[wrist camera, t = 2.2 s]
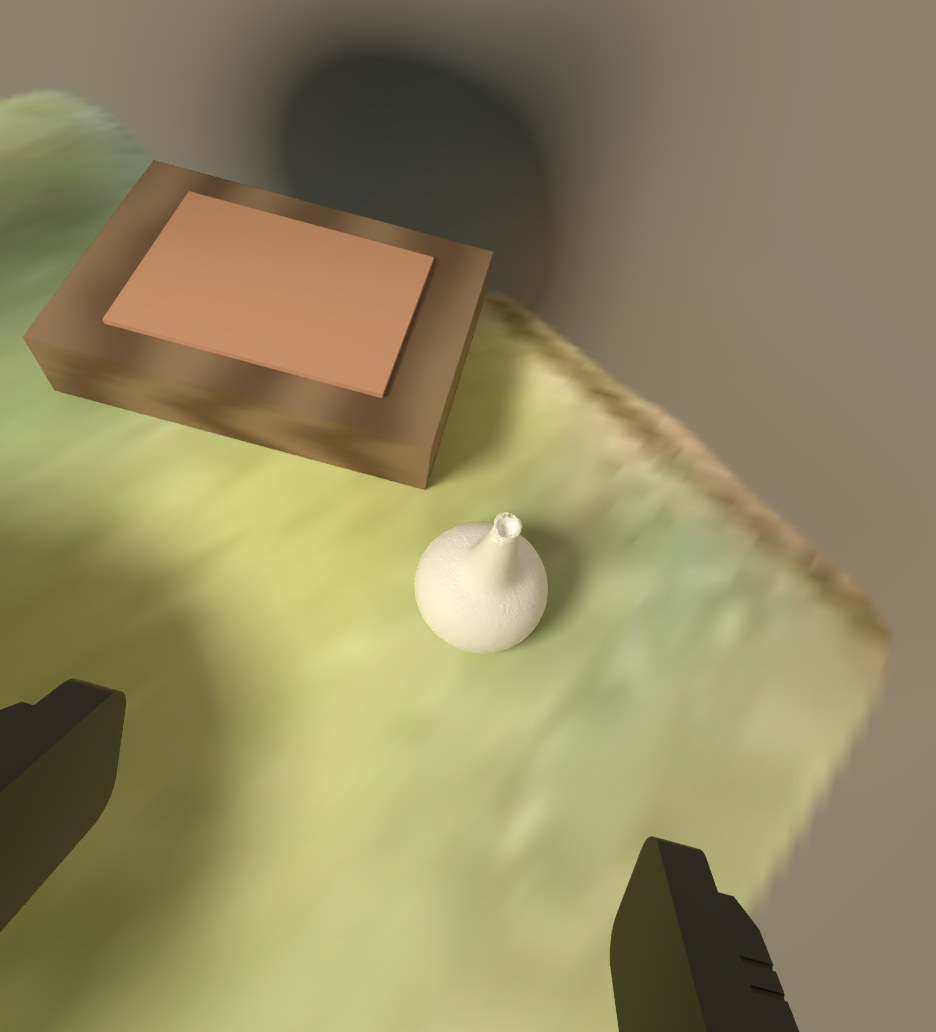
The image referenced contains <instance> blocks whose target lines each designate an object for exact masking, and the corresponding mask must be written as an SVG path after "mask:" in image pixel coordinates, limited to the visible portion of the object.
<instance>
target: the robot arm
mask: <svg viewBox="0 0 936 1032" xmlns="http://www.w3.org/2000/svg"><path fill="white" fill-rule="evenodd" d="M125 707H126V698H125V695H124V693H123V692H121V691H118V690H114V689H110V688H106V687H103V686H99V685H95V684H92V683H88V682H84V681H81V680H77V679H69V680H67V681H66V682H64V683H63V684H61V685H60V686H59V687H57V688H56V689H55V690H53V691H52V692H51V693H49V694H48V695H47V696H46V697H44V698H43V699H42V700H40V701H39V702H38V703H36V704H35V705H30V704H27V703H23V702H20V703H18V704H15V705H12V706H10V707H7V708H4V709H2V710H0V932H1V931H2V929H3V928H4V927H5V926H6V925H7V924H8V923H9V921H10V920H11V919H12V918H13V917H14V916H15V915H16V913H17V912H18V911H19V910H20V909H21V908H22V907H23V905H24V904H25V903H26V902H27V901H28V900H29V899H30V897H31V896H32V895H33V894H34V893H35V892H36V890H37V889H38V888H39V887H40V886H41V885H42V884H43V882H44V881H45V880H46V879H47V878H48V877H49V876H50V874H51V873H52V872H53V871H54V870H55V869H56V868H57V866H58V865H59V864H60V863H61V862H62V861H63V860H64V858H65V857H66V856H67V855H68V854H69V853H70V851H71V850H72V849H73V848H74V847H75V846H76V845H77V843H78V842H79V841H80V840H81V839H82V838H83V837H84V835H85V834H86V833H87V832H88V831H89V830H90V829H91V827H92V826H93V825H94V824H95V823H96V821H97V820H98V818H99V817H100V815H101V814H102V812H103V810H104V809H105V807H106V805H107V803H108V800H109V798H110V796H111V793H112V790H113V787H114V783H115V779H116V772H117V765H118V758H119V751H120V744H121V736H122V729H123V722H124V715H125ZM772 966H773V963H772V961H771V959H770V956H769V953H768V951H767V948H766V945H765V943H764V940H763V938H762V935H761V933H760V930H759V929H758V928H757V926H756V925H755V924H754V922H753V921H752V920H751V918H750V917H749V916H748V914H747V913H746V912H745V911H744V909H743V908H742V907H741V905H740V904H739V903H738V901H737V900H736V899H735V898H734V896H730V895H726V894H723V893H719V892H718V891H717V888H716V885H715V882H714V879H713V876H712V873H711V870H710V868H709V865H708V862H707V859H706V856H705V854H704V853H703V851H702V850H700V849H697V848H693V847H690V846H686V845H682V844H678V843H675V842H671V841H667V840H664V839H660V838H656V837H652V836H651V837H649V838H647V840H646V841H645V843H644V844H643V847H642V849H641V851H640V854H639V857H638V859H637V862H636V865H635V867H634V870H633V873H632V875H631V878H630V880H629V883H628V886H627V888H626V891H625V894H624V896H623V899H622V901H621V904H620V907H619V909H618V912H617V915H616V918H615V921H614V925H613V929H612V935H611V943H610V967H611V975H612V983H613V990H614V997H615V1005H616V1012H617V1020H618V1027H619V1032H799V1030H798V1027H797V1025H796V1022H795V1020H794V1017H793V1015H792V1012H791V1009H790V1007H789V1004H788V1002H786V1001H784V991H783V989H782V987H781V984H780V981H779V979H778V976H777V974H776V972H775V971H773V970H772Z"/></svg>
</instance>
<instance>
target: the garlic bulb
mask: <svg viewBox="0 0 936 1032" xmlns="http://www.w3.org/2000/svg"><path fill="white" fill-rule="evenodd" d="M505 514H507V515H506V516H504V515H505ZM511 515H512V513H511ZM522 527H523V526H522V523H521V520H519V519H518V517H515V515H513V516H509V512H504V513H500V514H498V516H496V518H495V520H494V523H491V522H470V523H465V524H461V525H458V526H455V527H453V528H451V529H449V530H447V531H445V532H444V533H442V534H441V535H439V536H438V537H437V538H436V539H434V540H433V541H432V543H431V544H430V545H429V546H428V547H427V549H426V550H425V552H424V553H423V555H422V557H421V559H420V561H419V564H418V567H417V571H416V576H415V596H416V600H417V604H418V607H419V609H420V612H421V614H422V616H423V618H424V620H425V621H426V623H427V624H428V625H429V627H430V628H431V629H432V630H433V631H434V633H435V634H436V635H437V636H439V637H440V638H441V639H443V640H444V641H446V642H447V643H449V644H450V645H452V646H454V647H456V648H459V649H461V650H464V651H469V652H474V653H479V654H480V653H481V654H487V653H495V652H500V651H504V650H507V649H510V648H511V647H513V646H515V645H517V644H519V643H520V642H522V641H523V640H524V639H525V638H526V637H527V636H528V635H529V634H530V633H531V632H532V631H533V630H534V629H535V627H536V626H537V624H538V623H539V621H540V619H541V617H542V615H543V613H544V610H545V607H546V603H547V596H548V583H547V582H548V581H547V575H546V572H545V568H544V565H543V563H542V561H541V559H540V557H539V555H538V553H537V552H536V550H535V549H534V547H533V546H532V545H531V544H530V543H529V542H528V541H527V540H526V539H525V538H524V537H523V536H521V535H520V533H521V529H522Z"/></svg>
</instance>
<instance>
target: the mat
mask: <svg viewBox="0 0 936 1032" xmlns="http://www.w3.org/2000/svg"><path fill="white" fill-rule="evenodd" d="M433 261H434V257H431V256H428V255H424V254H420V253H417V252H413V251H409V250H405V249H402V248H398V247H394V246H391V245H387V244H383V243H380V242H376V241H372V240H368V239H365V238H361V237H357V236H354V235H350V234H346V233H342V232H339V231H335V230H331V229H328V228H324V227H320V226H316V225H313V224H309V223H305V222H302V221H298V220H294V219H290V218H287V217H283V216H279V215H276V214H272V213H268V212H264V211H261V210H257V209H253V208H250V207H246V206H242V205H238V204H235V203H231V202H227V201H224V200H220V199H216V198H212V197H209V196H205V195H201V194H198V193H194V192H190V191H189V192H188V193H187V195H186V196H185V198H184V199H183V200H182V202H181V203H180V205H179V206H178V208H177V209H176V211H175V212H174V214H173V215H172V217H171V218H170V220H169V221H168V223H167V224H166V226H165V227H164V229H163V230H162V232H161V233H160V235H159V236H158V238H157V239H156V240H155V242H154V243H153V245H152V246H151V248H150V249H149V251H148V252H147V254H146V255H145V257H144V258H143V260H142V261H141V263H140V264H139V266H138V267H137V269H136V270H135V272H134V273H133V275H132V276H131V278H130V279H129V280H128V282H127V283H126V285H125V286H124V288H123V289H122V291H121V292H120V294H119V295H118V297H117V298H116V300H115V301H114V303H113V304H112V306H111V307H110V309H109V310H108V312H107V313H106V315H105V316H104V318H103V322H104V324H108V325H112V326H115V327H119V328H123V329H126V330H130V331H134V332H138V333H141V334H145V335H149V336H152V337H156V338H160V339H164V340H167V341H171V342H175V343H178V344H182V345H186V346H190V347H193V348H197V349H201V350H204V351H208V352H212V353H216V354H219V355H223V356H227V357H230V358H234V359H238V360H242V361H245V362H249V363H253V364H256V365H260V366H264V367H268V368H271V369H275V370H279V371H283V372H286V373H290V374H294V375H297V376H301V377H305V378H309V379H312V380H316V381H320V382H323V383H327V384H331V385H335V386H338V387H342V388H346V389H349V390H353V391H357V392H361V393H364V394H368V395H372V396H375V397H379V398H383V395H384V392H385V390H386V387H387V384H388V382H389V379H390V376H391V374H392V371H393V368H394V366H395V363H396V360H397V358H398V355H399V352H400V350H401V347H402V344H403V342H404V339H405V336H406V334H407V331H408V328H409V326H410V323H411V320H412V318H413V315H414V312H415V310H416V307H417V304H418V301H419V299H420V296H421V293H422V291H423V288H424V285H425V283H426V280H427V277H428V275H429V272H430V269H431V267H432V264H433Z"/></svg>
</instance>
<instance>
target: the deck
mask: <svg viewBox="0 0 936 1032" xmlns="http://www.w3.org/2000/svg"><path fill="white" fill-rule="evenodd" d="M189 191H190V192H194V193H198V194H201V195H205V196H209V197H212V198H216V199H220V200H224V201H227V202H231V203H235V204H238V205H242V206H246V207H250V208H253V209H257V210H261V211H264V212H268V213H272V214H276V215H279V216H283V217H287V218H290V219H294V220H298V221H302V222H305V223H309V224H313V225H316V226H320V227H324V228H328V229H331V230H335V231H339V232H342V233H346V234H350V235H354V236H357V237H361V238H365V239H368V240H372V241H376V242H380V243H383V244H387V245H391V246H394V247H398V248H402V249H405V250H409V251H413V252H417V253H420V254H424V255H428V256H431V257H434V261H433V264H432V267H431V269H430V272H429V275H428V277H427V280H426V283H425V285H424V288H423V291H422V293H421V296H420V299H419V301H418V304H417V307H416V310H415V312H414V315H413V318H412V320H411V323H410V326H409V328H408V331H407V334H406V336H405V339H404V342H403V344H402V347H401V350H400V352H399V355H398V358H397V360H396V363H395V366H394V368H393V371H392V374H391V376H390V379H389V382H388V384H387V387H386V390H385V392H384V395H383V398H379V397H375V396H372V395H368V394H364V393H361V392H357V391H353V390H349V389H346V388H342V387H338V386H335V385H331V384H327V383H323V382H320V381H316V380H312V379H309V378H305V377H301V376H297V375H294V374H290V373H286V372H283V371H279V370H275V369H271V368H268V367H264V366H260V365H256V364H253V363H249V362H245V361H242V360H238V359H234V358H230V357H227V356H223V355H219V354H216V353H212V352H208V351H204V350H201V349H197V348H193V347H190V346H186V345H182V344H178V343H175V342H171V341H167V340H164V339H160V338H156V337H152V336H149V335H145V334H141V333H138V332H134V331H130V330H126V329H123V328H119V327H115V326H112V325H108V324H104V322H103V318H104V316H105V315H106V313H107V312H108V310H109V309H110V307H111V306H112V304H113V303H114V301H115V300H116V298H117V297H118V295H119V294H120V292H121V291H122V289H123V288H124V286H125V285H126V283H127V282H128V280H129V279H130V278H131V276H132V275H133V273H134V272H135V270H136V269H137V267H138V266H139V264H140V263H141V261H142V260H143V258H144V257H145V255H146V254H147V252H148V251H149V249H150V248H151V246H152V245H153V243H154V242H155V240H156V239H157V238H158V236H159V235H160V233H161V232H162V230H163V229H164V227H165V226H166V224H167V223H168V221H169V220H170V218H171V217H172V215H173V214H174V212H175V211H176V209H177V208H178V206H179V205H180V203H181V202H182V200H183V199H184V198H185V196H186V195H187V193H188V192H189ZM492 255H493V252H492V251H488V250H485V249H481V248H477V247H474V246H470V245H466V244H462V243H459V242H455V241H451V240H447V239H444V238H440V237H437V236H432V235H429V234H425V233H422V232H417V231H414V230H410V229H407V228H403V227H400V226H396V225H392V224H388V223H385V222H381V221H377V220H374V219H370V218H366V217H362V216H358V215H355V214H351V213H348V212H343V211H340V210H336V209H333V208H329V207H325V206H322V205H318V204H314V203H310V202H307V201H303V200H299V199H296V198H292V197H288V196H284V195H281V194H277V193H273V192H270V191H266V190H262V189H258V188H255V187H251V186H247V185H243V184H240V183H236V182H232V181H229V180H225V179H221V178H218V177H214V176H210V175H206V174H202V173H199V172H195V171H191V170H187V169H184V168H180V167H177V166H173V165H169V164H166V163H162V162H158V161H154V160H153V162H152V163H151V164H150V166H149V167H148V169H147V170H146V171H145V173H144V174H143V175H142V177H141V178H140V179H139V181H138V182H137V183H136V185H135V186H134V187H133V189H132V190H131V192H130V193H129V194H128V196H127V197H126V198H125V200H124V201H123V202H122V204H121V205H120V206H119V208H118V209H117V210H116V212H115V213H114V215H113V216H112V217H111V219H110V220H109V221H108V223H107V224H106V225H105V227H104V228H103V229H102V231H101V232H100V233H99V235H98V236H97V238H96V239H95V240H94V242H93V243H92V244H91V246H90V247H89V248H88V250H87V251H86V252H85V254H84V255H83V256H82V258H81V259H80V261H79V262H78V263H77V265H76V266H75V267H74V269H73V270H72V271H71V273H70V274H69V275H68V277H67V278H66V279H65V281H64V282H63V284H62V285H61V286H60V288H59V289H58V290H57V292H56V293H55V294H54V296H53V297H52V298H51V300H50V301H49V302H48V304H47V305H46V307H45V308H44V309H43V311H42V312H41V313H40V315H39V316H38V317H37V319H36V320H35V321H34V323H33V324H32V325H31V327H30V328H29V330H28V331H27V332H26V334H25V335H24V336H23V338H24V340H25V341H26V343H27V345H28V346H29V348H30V350H31V351H32V353H33V355H34V356H35V358H36V360H37V362H38V363H39V365H40V367H41V368H42V370H43V372H44V373H45V375H46V377H47V378H48V380H49V382H50V383H51V385H52V387H53V388H54V390H56V391H60V392H63V393H67V394H71V395H74V396H78V397H82V398H86V399H89V400H93V401H97V402H100V403H104V404H108V405H112V406H115V407H119V408H123V409H127V410H130V411H134V412H138V413H141V414H145V415H149V416H153V417H156V418H160V419H164V420H167V421H171V422H175V423H179V424H182V425H186V426H190V427H193V428H197V429H201V430H205V431H208V432H212V433H216V434H220V435H223V436H227V437H231V438H234V439H238V440H242V441H246V442H249V443H253V444H257V445H260V446H264V447H268V448H272V449H275V450H279V451H283V452H286V453H290V454H294V455H298V456H301V457H305V458H309V459H313V460H316V461H320V462H324V463H327V464H331V465H335V466H339V467H342V468H346V469H350V470H353V471H357V472H361V473H365V474H368V475H372V476H376V477H379V478H383V479H387V480H391V481H394V482H398V483H402V484H406V485H409V486H413V487H417V488H420V489H424V490H425V488H426V485H427V482H428V479H429V475H430V472H431V469H432V466H433V463H434V459H435V456H436V453H437V450H438V446H439V443H440V440H441V437H442V433H443V430H444V427H445V424H446V421H447V417H448V414H449V411H450V408H451V404H452V401H453V398H454V395H455V391H456V388H457V385H458V382H459V379H460V375H461V372H462V369H463V366H464V362H465V359H466V356H467V353H468V349H469V346H470V343H471V340H472V337H473V333H474V330H475V327H476V324H477V320H478V317H479V314H480V311H481V307H482V304H483V300H484V295H485V290H486V285H487V280H488V275H489V270H490V265H491V260H492Z"/></svg>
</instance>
